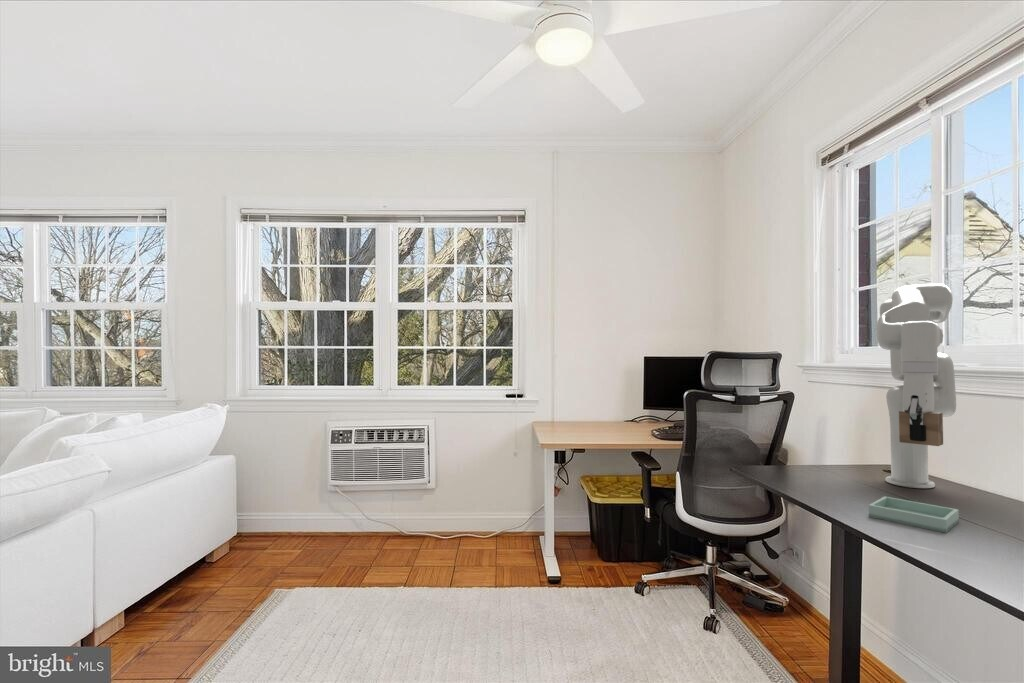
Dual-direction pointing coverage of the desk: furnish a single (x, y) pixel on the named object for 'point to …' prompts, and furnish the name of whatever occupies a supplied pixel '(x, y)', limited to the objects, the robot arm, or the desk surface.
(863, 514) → the desk surface
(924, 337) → the robot arm
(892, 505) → the tray
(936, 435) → the walnut block
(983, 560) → the desk surface
